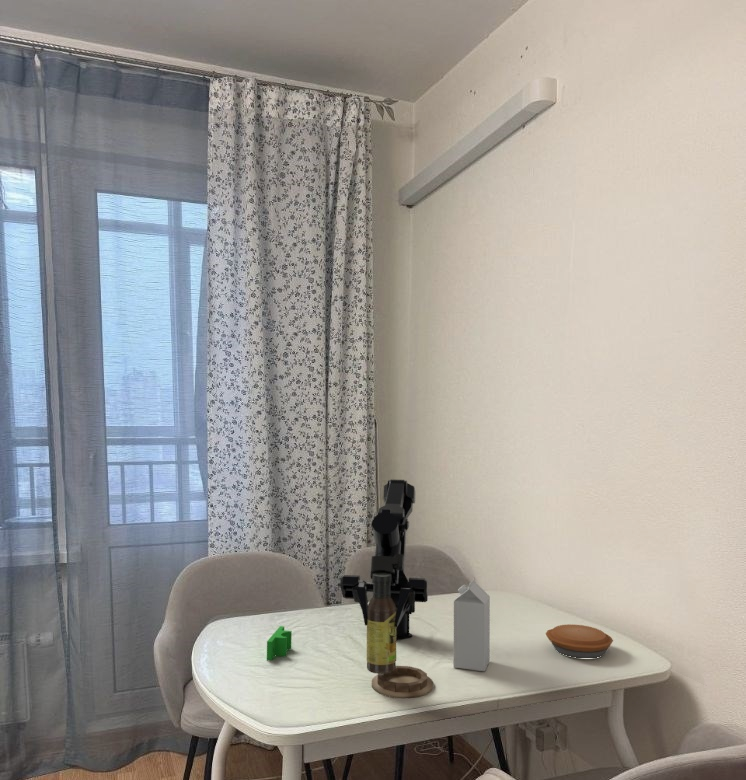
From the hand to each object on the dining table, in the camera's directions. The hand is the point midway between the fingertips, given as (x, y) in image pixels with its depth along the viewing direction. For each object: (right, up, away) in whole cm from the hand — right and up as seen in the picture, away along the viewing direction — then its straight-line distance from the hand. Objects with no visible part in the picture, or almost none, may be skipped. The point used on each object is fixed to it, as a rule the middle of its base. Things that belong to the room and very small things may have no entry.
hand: (380, 625), depth 136 cm
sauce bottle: (0, -10, +1) cm, 10 cm away
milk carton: (+21, -14, +14) cm, 29 cm away
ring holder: (+5, -13, +2) cm, 14 cm away
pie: (+49, -15, +23) cm, 56 cm away
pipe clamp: (-24, -14, +20) cm, 34 cm away
